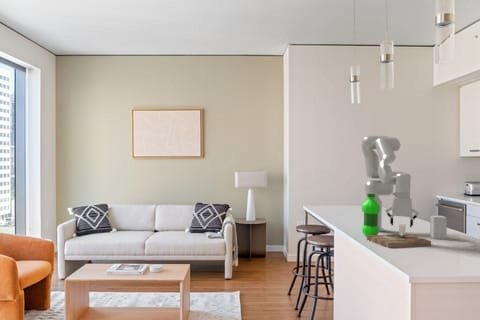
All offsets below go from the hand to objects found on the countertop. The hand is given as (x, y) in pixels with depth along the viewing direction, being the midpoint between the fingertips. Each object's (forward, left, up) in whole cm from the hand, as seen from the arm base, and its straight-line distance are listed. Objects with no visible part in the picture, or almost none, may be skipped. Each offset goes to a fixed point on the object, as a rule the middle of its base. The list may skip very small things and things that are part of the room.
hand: (401, 226), depth 228 cm
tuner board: (+3, -4, -9) cm, 10 cm away
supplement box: (-4, +28, -9) cm, 29 cm away
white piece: (+3, -2, -6) cm, 7 cm away
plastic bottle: (-16, -9, -9) cm, 20 cm away
